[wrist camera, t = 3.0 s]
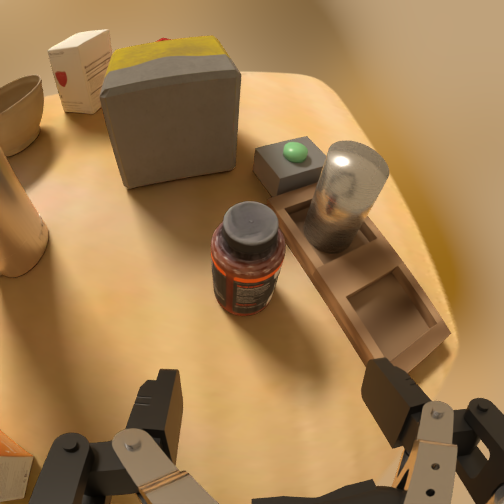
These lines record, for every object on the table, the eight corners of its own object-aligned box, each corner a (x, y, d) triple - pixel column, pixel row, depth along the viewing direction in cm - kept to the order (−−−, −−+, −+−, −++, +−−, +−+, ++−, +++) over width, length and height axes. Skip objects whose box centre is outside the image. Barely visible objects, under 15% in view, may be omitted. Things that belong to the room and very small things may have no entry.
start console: (275, 201, 38) (281, 172, 34) (252, 171, 40) (256, 142, 36) (325, 184, 40) (335, 157, 36) (301, 157, 43) (308, 130, 39)
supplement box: (62, 112, 48) (45, 50, 35) (89, 90, 52) (77, 32, 40) (93, 115, 47) (77, 45, 34) (120, 92, 52) (110, 27, 39)
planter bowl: (14, 176, 38) (-11, 127, 29) (-22, 164, 40) (-43, 124, 30) (70, 118, 46) (57, 71, 37) (27, 115, 48) (13, 76, 39)
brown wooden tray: (439, 340, 29) (451, 333, 27) (380, 390, 26) (391, 386, 24) (329, 189, 40) (334, 177, 38) (265, 212, 37) (267, 198, 35)
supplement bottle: (284, 297, 31) (310, 231, 21) (236, 329, 29) (242, 274, 19) (249, 255, 33) (259, 180, 24) (202, 283, 31) (193, 212, 22)
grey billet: (322, 261, 33) (356, 192, 23) (293, 220, 35) (315, 146, 26) (361, 242, 34) (401, 176, 25) (332, 205, 37) (360, 136, 28)
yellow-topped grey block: (206, 91, 52) (206, 20, 39) (236, 173, 40) (243, 71, 27) (128, 103, 49) (117, 33, 36) (125, 193, 37) (97, 94, 24)
